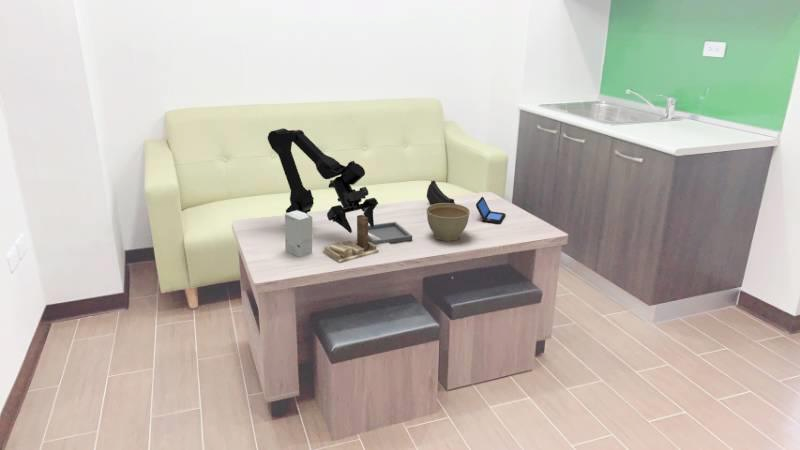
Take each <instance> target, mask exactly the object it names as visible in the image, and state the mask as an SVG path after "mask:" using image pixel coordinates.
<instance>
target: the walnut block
mask: <svg viewBox="0 0 800 450" xmlns="http://www.w3.org/2000/svg"><path fill="white" fill-rule="evenodd" d="M368 225H369V223H368V218H367V217H365V216H364V214H360V215H359V214H358V215H356V232H357V233H356V235H357V236H356V242H357V245H358V246H360V247H361V248H363V249H364V252H369V249H368V235H369V232H368Z"/></svg>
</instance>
